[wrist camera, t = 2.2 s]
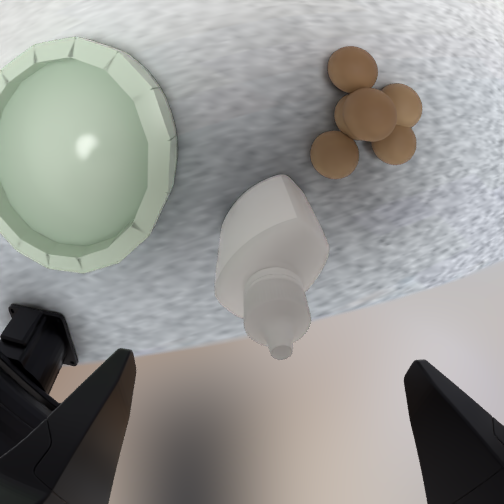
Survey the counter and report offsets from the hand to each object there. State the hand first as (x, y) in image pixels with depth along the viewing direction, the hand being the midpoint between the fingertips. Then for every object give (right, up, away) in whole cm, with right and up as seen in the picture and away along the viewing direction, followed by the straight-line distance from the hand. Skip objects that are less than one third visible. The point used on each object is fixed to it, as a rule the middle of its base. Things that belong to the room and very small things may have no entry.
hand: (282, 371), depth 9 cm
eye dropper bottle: (0, +6, +12) cm, 13 cm away
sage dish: (-13, +10, +9) cm, 19 cm away
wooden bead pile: (+5, +12, +8) cm, 15 cm away
